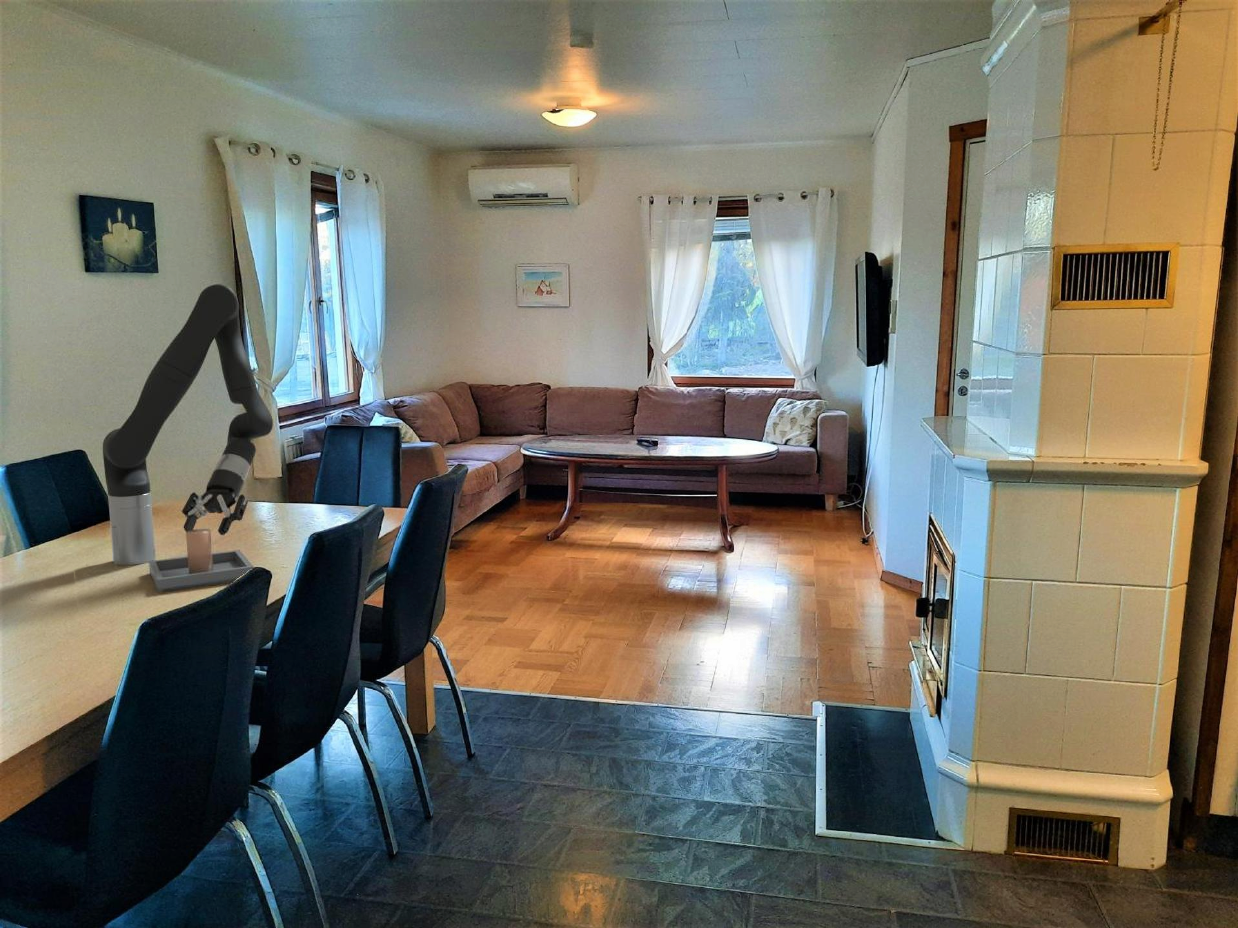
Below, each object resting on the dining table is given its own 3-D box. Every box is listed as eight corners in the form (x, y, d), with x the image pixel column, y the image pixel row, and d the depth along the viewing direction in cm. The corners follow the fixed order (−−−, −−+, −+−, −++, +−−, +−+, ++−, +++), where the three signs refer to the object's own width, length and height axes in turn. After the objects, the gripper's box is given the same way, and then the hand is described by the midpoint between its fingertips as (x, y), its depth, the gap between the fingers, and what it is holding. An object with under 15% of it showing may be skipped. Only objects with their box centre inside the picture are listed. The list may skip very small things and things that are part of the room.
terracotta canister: (185, 575, 203) (182, 534, 202) (194, 569, 208) (191, 528, 207) (207, 575, 203) (205, 534, 202) (216, 569, 209) (214, 528, 207)
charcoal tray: (158, 592, 193) (157, 579, 193) (150, 573, 208) (149, 561, 208) (254, 579, 204) (253, 566, 203) (240, 561, 219) (239, 549, 218)
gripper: (195, 466, 214) (168, 522, 204) (249, 468, 212) (225, 525, 203) (208, 484, 220) (183, 539, 211) (262, 486, 218) (239, 542, 209)
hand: (204, 532), depth 207 cm, fingers open, 8 cm apart
